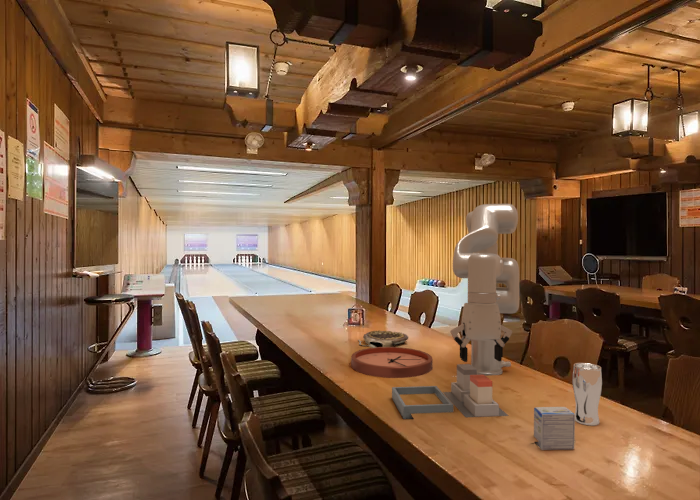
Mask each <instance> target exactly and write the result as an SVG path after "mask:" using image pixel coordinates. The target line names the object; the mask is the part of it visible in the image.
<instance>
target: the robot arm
mask: <svg viewBox="0 0 700 500" xmlns="http://www.w3.org/2000/svg"><path fill="white" fill-rule="evenodd" d="M518 223H519V213H518V210H517V208H516V207H515V205H513V204H512V203H485V204H484V203H483V204H480V205H477V206H476V207H474V209H473V211H469V212H468V213H467V214H466V217H465V225H466V228H467V231H468V233H467V234H465V235H463V237H462V238H461V239H459V240H458V242H457V243H456V245H455V247H454V251H453V258H452V271H453V274H454V275H455V276H456V277H457V278H458V279H459V278H460V279H467V302H464V304H463V308H462V314H461V315H462V316H461V324H460V325H458V326H455V327H454V328H452V329H451V330H450V331H449V332H450V334H451V336H452V338H453V340H454V342H455V343H456V344H457V345H458V346H459V358H460V360H461V361H463V363H467V362H468V356H469V355H468V351H469V350H468V347H467V346H468V344H469V342H470V341H471V355H470V356H471V358H470V359H471V362H470V363H471V364H470V365H471V366H473V367H474V368H475V369H477V375H485V376H486V377H487V376H501V375H502V374H503V368H509V367H512V364H511V361H505V360H503V359H502V358H503V355H504V352H503V349H504V348H505V345H506V343H508V341H509V340H510V338H511V336H512V334H513V330H512V329H510V328H508V327H506V326H504V325H503V324H502V321H501V314H509V315H510V314H516V313H517V312H518V311H519V309H520V266H519V264H518V261H517V260H516V259H515V258H512V257H501V256H500V255H499V253H498V243H497V242H498V239H499V235H501V234H502V235H506V234H507V235H509V234H510V235H511V234H513V233H514V232H515V231H516V229H517V226H518ZM497 284H502V285H503V284H504V285H505V286H506V287H500V286H497ZM502 331H503V332H504V334H503V335H502ZM459 333H460V335H461V338H460V337H459Z"/></svg>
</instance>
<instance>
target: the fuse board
mask: <svg viewBox="0 0 700 500" xmlns="http://www.w3.org/2000/svg"><path fill="white" fill-rule="evenodd" d="M442 393H443V394H444V395H445V396H446V397H447V398H448V399H449V400H450V401H451V403H452V404H453V406H454V407H456V408H457V409H458V411H459V412H460V413H461V414H462V415H463V416H464V418H484V417H485V418H487V417H488V418H490V417H508V416H509V415H508V414H507V412H505V411H504V410H503V409H502V408H500V404H499V403H498V402H496V401H495V400H494V399H493V398H492V404H476V403H475V402H474V401H473V400H472V399H471V398H470V391H462V390H461V389H460V388H459V387H458V386H457V381H456V382H454V381H453V382H452V381H451V384H450V391H442Z"/></svg>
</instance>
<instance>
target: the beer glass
mask: <svg viewBox="0 0 700 500" xmlns="http://www.w3.org/2000/svg"><path fill="white" fill-rule="evenodd" d="M572 371H573V372H572V387H573V395H574V400H575V401H574V402H575V411H574V414H575V423H578V424H581V425H584V426H591V427H594V426H599V425H600V418H599V405H600V404H599V403H600V399H601V395H602V389H603V388H602V387H603V378H602V367H601V366H600V365H598V364H594V363H588V362H575V363H574V364H573V370H572Z"/></svg>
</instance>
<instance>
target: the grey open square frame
mask: <svg viewBox="0 0 700 500" xmlns="http://www.w3.org/2000/svg"><path fill="white" fill-rule="evenodd" d="M424 394H425V395H426V394H427V395H428V394H430V395H431V394H434V395H435V396H436V397H437V398H438V399H439V401H441V403H437V404H436V403H433V404H432V403H431V404H406V403H405V402H404V400H403V398H402V397H401V395H424ZM391 399H392V402H393V403H394V404H395V407H396V408H397V410H398V412H399V413H400V415H401V417H402V419H403V420H414V417H413V415H414V414H440V413H454V404H453V403H452V402H451V401H450V400H449V399H448V398H447V397H446V395H445V394H444V393H443V391H442V390H441V389H440V388H439V387H438V386H437V385H430V386H429V385H427V386H425V385H419V386H393V387H391ZM412 414H413V415H412Z"/></svg>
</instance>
